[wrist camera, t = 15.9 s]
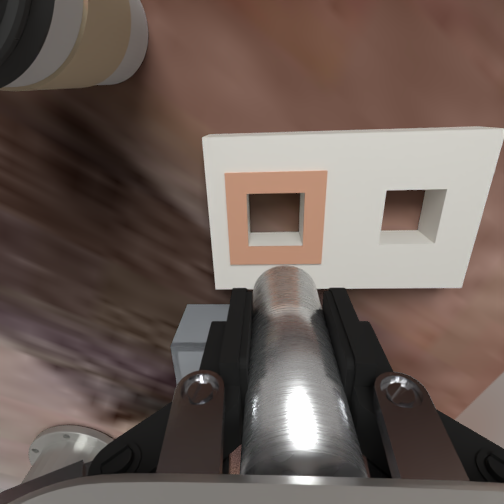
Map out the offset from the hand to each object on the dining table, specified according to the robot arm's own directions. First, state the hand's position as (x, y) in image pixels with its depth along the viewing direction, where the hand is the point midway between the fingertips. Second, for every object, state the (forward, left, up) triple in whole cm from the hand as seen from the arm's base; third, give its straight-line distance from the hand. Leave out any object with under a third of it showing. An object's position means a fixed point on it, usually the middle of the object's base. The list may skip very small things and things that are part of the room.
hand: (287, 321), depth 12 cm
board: (0, -5, -16) cm, 16 cm away
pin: (0, 0, -2) cm, 2 cm away
